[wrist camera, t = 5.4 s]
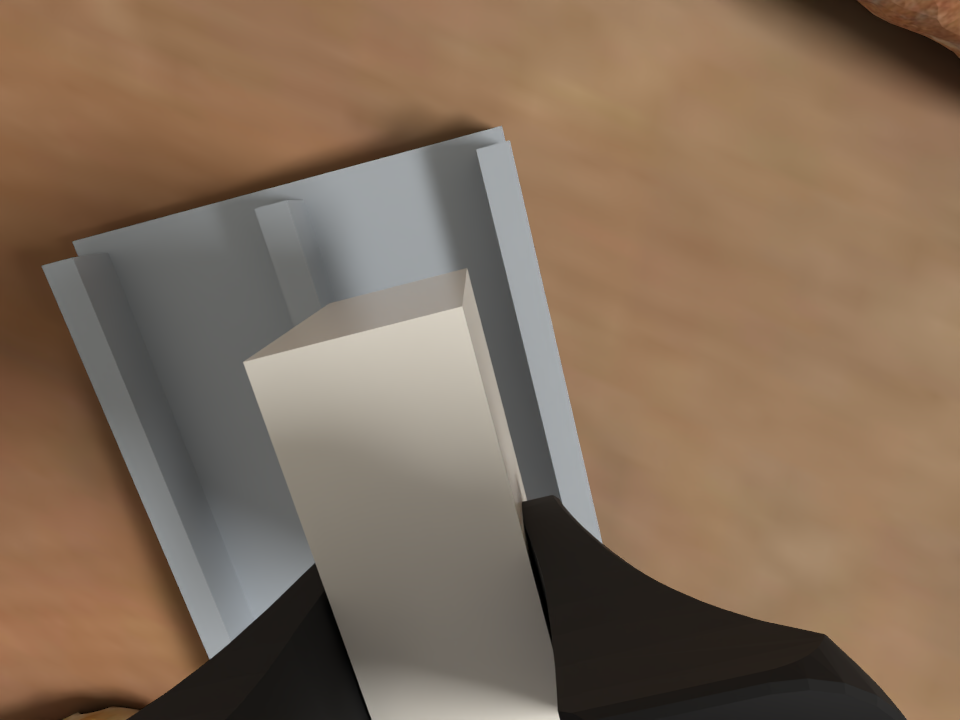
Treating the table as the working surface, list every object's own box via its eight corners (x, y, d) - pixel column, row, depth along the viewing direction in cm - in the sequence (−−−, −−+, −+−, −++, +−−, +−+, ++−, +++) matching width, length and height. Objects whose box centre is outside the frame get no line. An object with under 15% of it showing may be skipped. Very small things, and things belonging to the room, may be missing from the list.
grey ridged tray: (616, 629, 20) (635, 686, 18) (281, 703, 21) (256, 768, 19) (500, 130, 17) (504, 118, 14) (95, 239, 17) (32, 245, 15)
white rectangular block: (569, 664, 15) (613, 877, 10) (451, 689, 15) (440, 912, 11) (467, 268, 13) (462, 306, 8) (328, 303, 13) (243, 362, 8)
